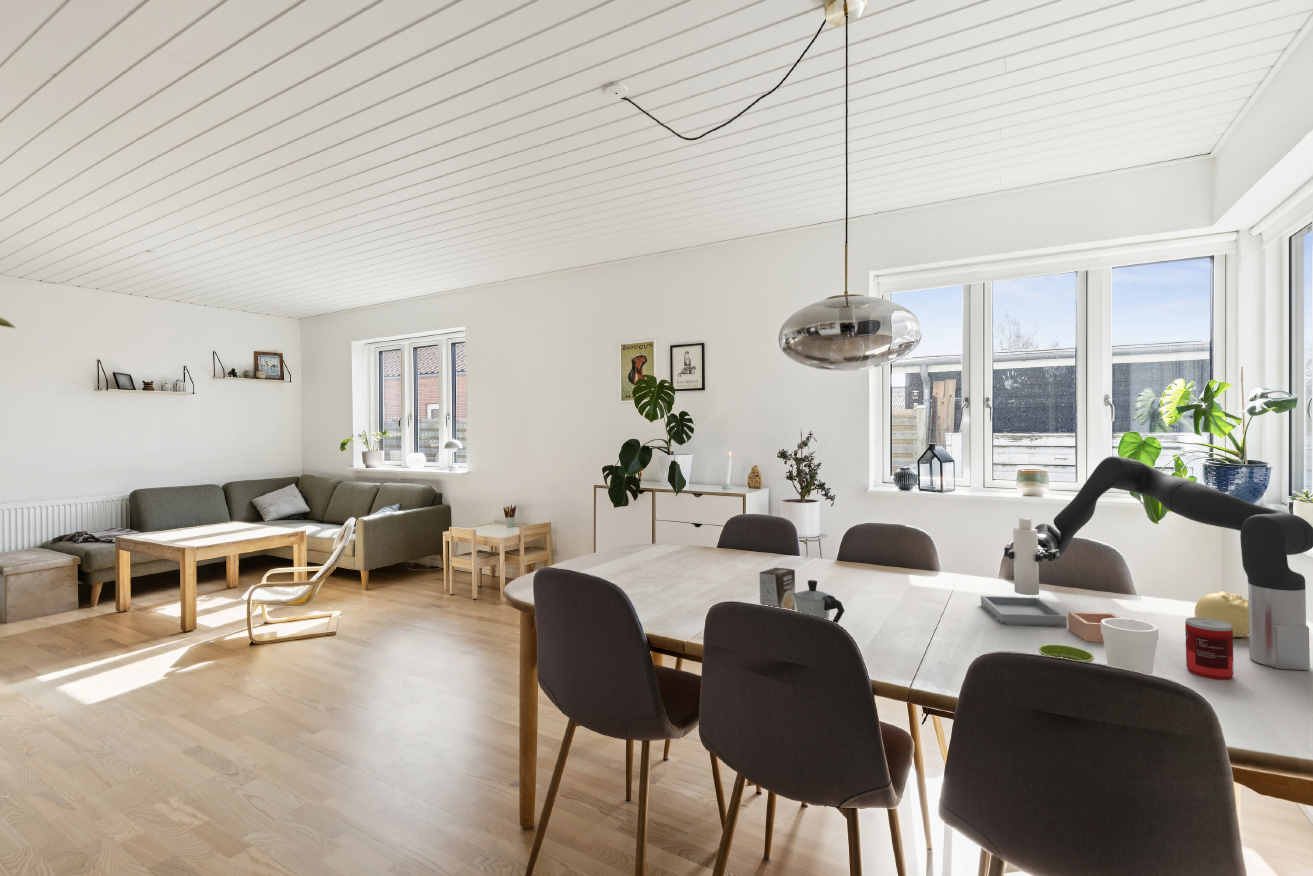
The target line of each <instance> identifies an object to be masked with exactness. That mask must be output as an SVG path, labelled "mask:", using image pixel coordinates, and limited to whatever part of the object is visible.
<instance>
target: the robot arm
mask: <svg viewBox="0 0 1313 876" xmlns="http://www.w3.org/2000/svg"><path fill="white" fill-rule="evenodd" d="M1110 489H1115V490H1122V491H1127V492H1133V493H1136V494H1140V495H1144V496H1148V497H1150V498H1153V499H1154V500H1156V501H1158V502H1159V503H1160V505H1162V506H1163V507H1164V508H1165V509H1166V510H1169V511H1170V512H1172V513H1174V514H1176V515H1179V516H1181V517H1184V518H1186V519H1188V520H1190V521H1194V522H1197V523H1200V524H1205V525H1209V526H1215V527H1218V528H1219V527H1220V528H1225V529H1230V530H1235V531H1240V536H1239V538H1240V550H1241V562H1242V567H1243V570H1244V572H1245V575H1246V576H1247V590H1248V591H1247V595H1248V596H1247V598H1248V600H1247V601H1248V612H1249V635H1248V647H1249V648H1248V649H1249V655H1248V656H1249V659H1250V660H1251V661H1254V662H1255V663H1258V664H1261V665H1265V666H1268V667H1272V668H1274V669H1277V670H1278V669H1279V670H1295V671H1296V670H1297V671H1298V670H1299V671H1301V670H1302V671H1310V670H1311V657H1310V653H1311V652H1310V627H1309V626H1307V607H1306V606H1307V604H1306V603H1307V601H1306V597H1307V596H1306V595H1307V594H1306V593H1307V592H1306V591H1307V590H1306V578H1305V576H1304V575H1303V574H1301V573H1299V572H1296V571H1293V570H1292V569H1291V568H1290V567H1289V561H1288V556H1295V555H1299V554H1303V553H1306V552H1308V551H1310V550H1312V549H1313V526H1312V524H1310V523H1309V522H1308V521H1307V520H1306V519H1304V518H1302V517H1301V516H1298V515H1296V514H1293V513H1291V512H1290V513H1289V512H1286V511H1280V510H1277V509H1274V508H1269V507H1266V506H1261V505H1258V504H1255V503H1251V502H1249V501H1247V500H1244V499H1241V498H1239V497H1236V496H1234V495H1231V494H1229V493H1225V492H1224V491H1220V490H1218V489H1216V488H1213V487H1210V486H1208V485H1205V484H1202V483H1199V482H1198V481H1197V482H1196V481H1194V480H1190V479H1188V478H1184V477H1179V476H1175V475H1171V474H1168V473H1164V472H1162V471H1160V470H1158V469H1156V468H1154V467H1152V466H1150V465H1147V464H1146V463H1144V462H1142V461H1139V460H1137V459H1133V458H1128V457H1124V456H1119V455H1118V456H1116V455H1112V456H1111V455H1110V456H1108V457H1105V458H1104V459H1103V460H1101V461H1100V462H1099V464H1097V466H1096V468H1095V469H1094V470H1093V471H1092V473H1091V475H1089V477H1088V478H1087V479H1086V481H1085V482H1084V484H1083V486H1082V487H1081V489H1080V490H1079V491H1078V493H1077V494H1076V495H1075V496H1074V497H1073V499H1072V500H1071V501H1070V502H1069V503H1068V504H1067V505H1066V506H1065V507H1064V508H1063V509H1062V510H1061V511H1060V512H1059V513H1058V514H1057V515H1056V516H1055V517H1054V519H1053V525H1054V527H1055V528H1056V529H1055V528H1054V527H1053V526H1051V525H1050V524H1048V523H1041V524H1038V525H1036V526H1035V527H1034V529H1037V530H1038V553H1037V554H1036V562H1038V563H1042V562H1044V561H1046V560H1048V561H1049V562H1055V560H1059V559H1060V556H1061V555H1063V554H1064V553H1065V552H1066V551H1067V550H1068V548H1069V546H1070V544H1071V541H1072V539H1073V538H1074V537H1075V535H1076V534H1077V533H1078V531H1079V530H1081V529H1082V528H1083V527H1084V526H1085V525H1086V524H1088V522H1089V521H1090V520H1091V519H1092V517H1093V516H1094V515H1095V510H1096V506H1097V502H1098V500H1099V498H1101V496H1103V494H1105V493H1106V492H1107V491H1109V490H1110ZM1003 552H1004V557H1006V558H1009V560H1014V547H1013V545H1011V544H1005V546H1004V551H1003Z"/></svg>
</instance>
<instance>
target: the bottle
mask: <svg viewBox="0 0 1313 876" xmlns="http://www.w3.org/2000/svg"><path fill="white" fill-rule="evenodd" d="M1018 526H1019V527H1014V528H1013V529H1012V530H1013V531H1012V532H1013V533H1012V534H1013V536H1012V537H1013V548H1014V559H1013V576H1014V579H1013V580H1014V592H1015V593H1016V594H1019V595H1025V596H1037V595H1039V594H1040V578H1039V577H1040V575H1039V574H1040V573H1039V572H1040V571H1039V562H1036V554H1037V553H1038V530H1037V529H1034V528H1035V527H1034V528H1033V527H1032V518H1031V517H1030V518H1029V517H1019V518H1018Z"/></svg>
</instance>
